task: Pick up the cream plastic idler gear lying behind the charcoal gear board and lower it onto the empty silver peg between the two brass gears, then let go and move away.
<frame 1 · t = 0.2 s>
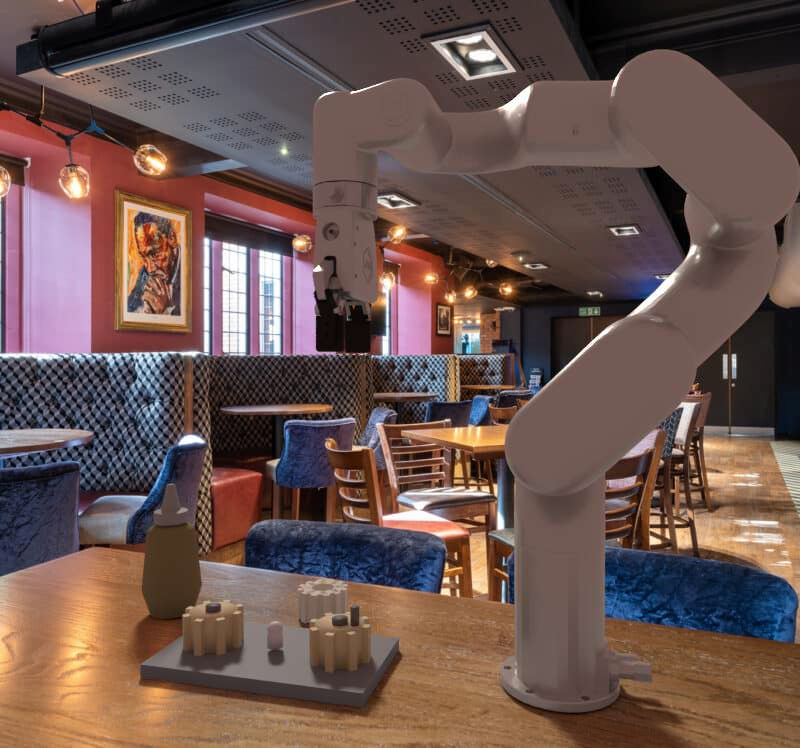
hand: (344, 352, 79), 36 cm above the table, tool pointing down, fingers open, 9 cm apart
gear board: (275, 663, 78), on the table
cream idler gear: (323, 616, 93), on the table
squeeze bottle: (172, 614, 94), on the table
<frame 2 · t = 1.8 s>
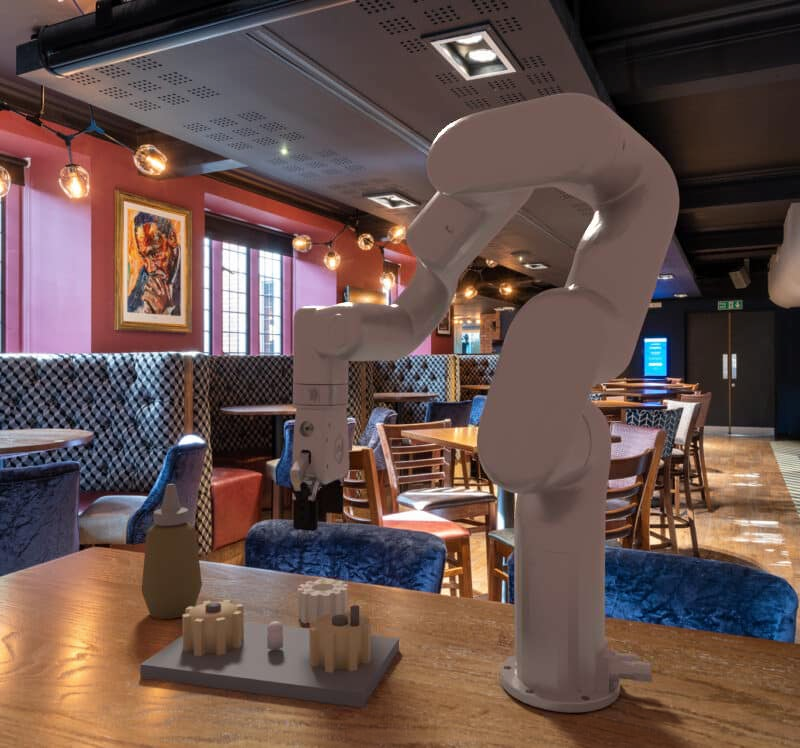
hand: (319, 520, 93), 13 cm above the table, tool pointing down, fingers open, 9 cm apart
nothing on the table moved.
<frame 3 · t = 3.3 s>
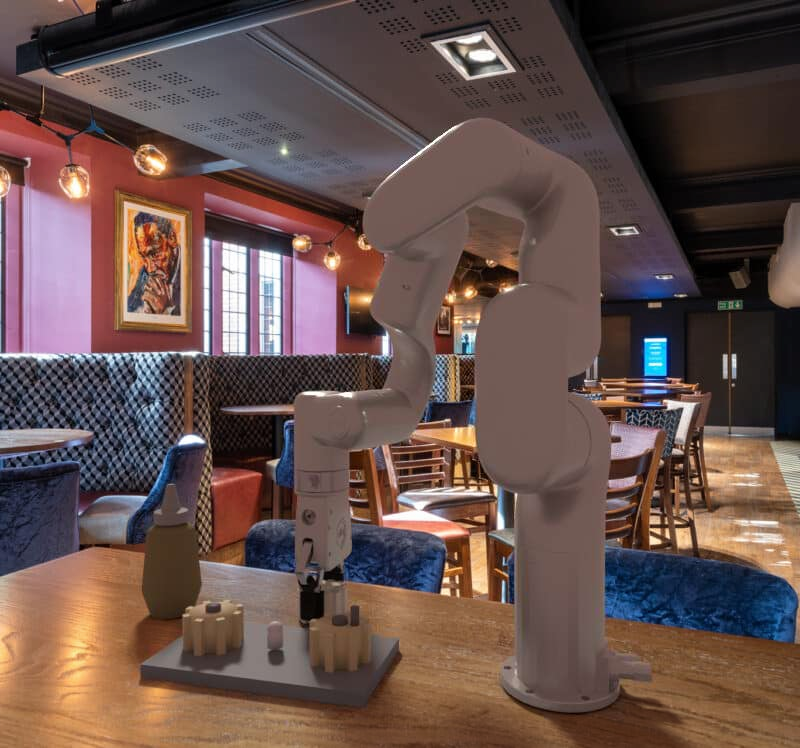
hand: (322, 609, 93), 1 cm above the table, tool pointing down, fingers closed on cream idler gear, 6 cm apart
cream idler gear: (323, 616, 93), on the table, touching gripper
everything else where it was.
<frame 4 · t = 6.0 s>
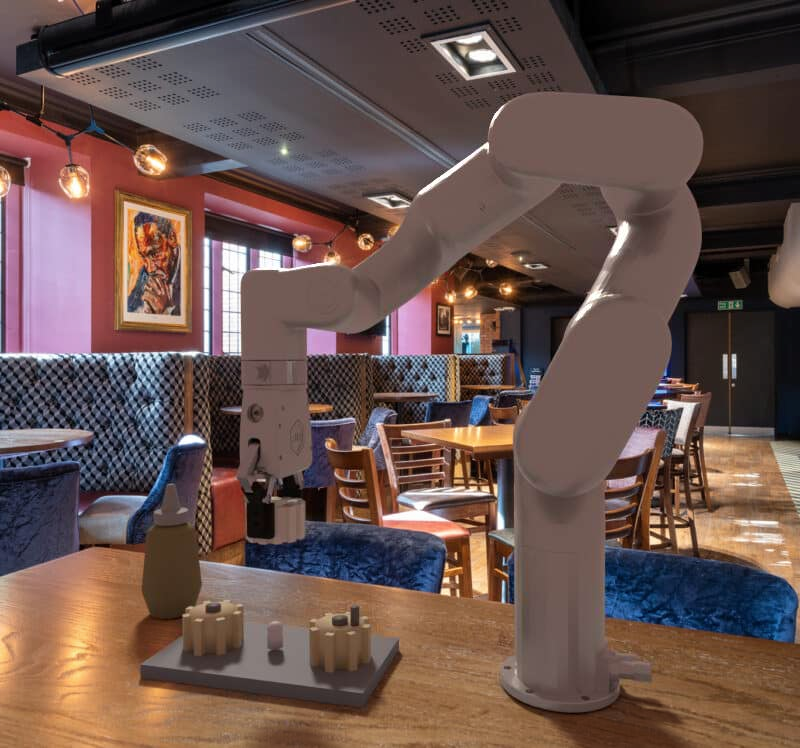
hand: (276, 528, 78), 16 cm above the table, tool pointing down, fingers closed on cream idler gear, 6 cm apart
cream idler gear: (275, 536, 78), point 15 cm above the table, touching gripper
everything else where it was.
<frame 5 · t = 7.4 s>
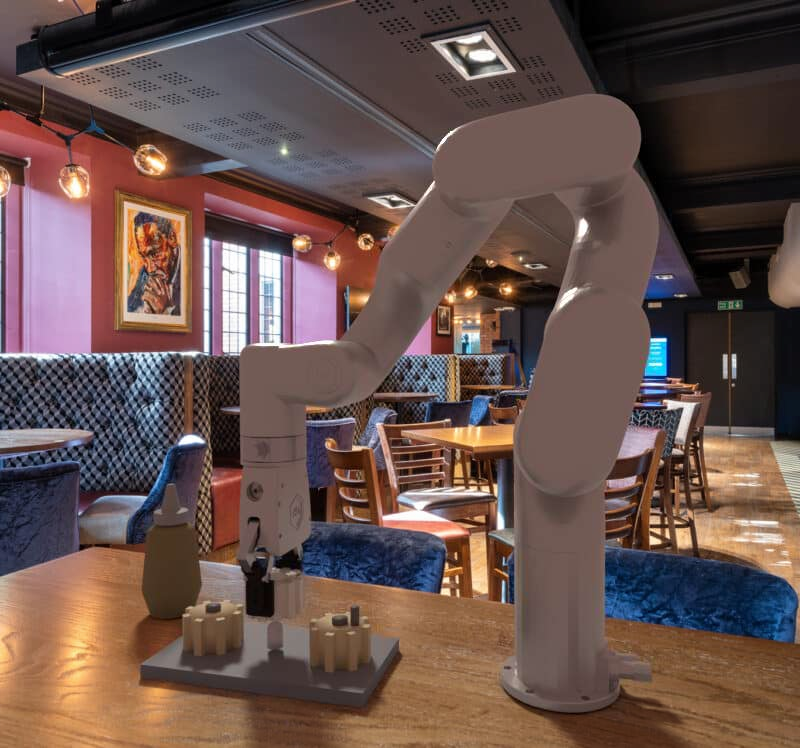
hand: (275, 602, 78), 7 cm above the table, tool pointing down, fingers closed on cream idler gear, 6 cm apart
cream idler gear: (274, 610, 78), point 6 cm above the table, touching gripper
everything else where it was.
when the fingers open (3 cm above the table, at t = 8.8 s): cream idler gear stays where it is, resting on gear board.
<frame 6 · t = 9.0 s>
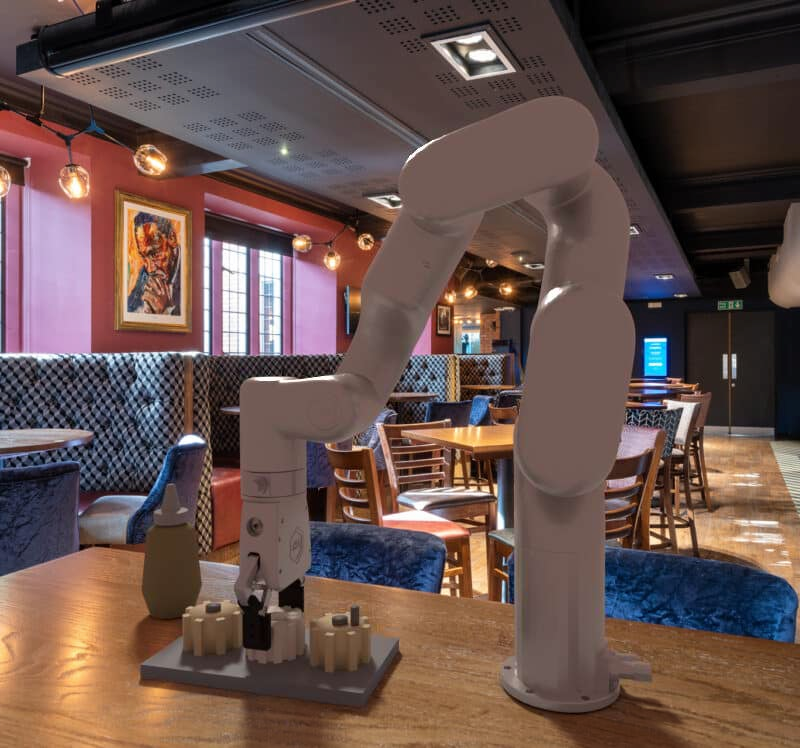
hand: (275, 632, 78), 4 cm above the table, tool pointing down, fingers open, 8 cm apart
cream idler gear: (275, 650, 78), point 1 cm above the table, touching gear board
everything else where it was.
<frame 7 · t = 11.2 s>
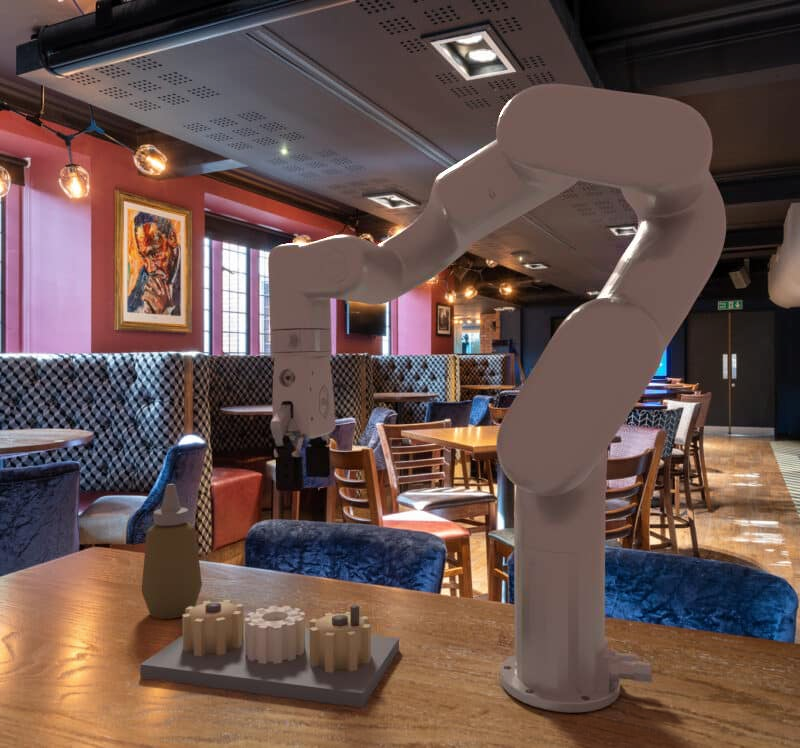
hand: (304, 483, 84), 20 cm above the table, tool pointing down, fingers open, 9 cm apart
nothing on the table moved.
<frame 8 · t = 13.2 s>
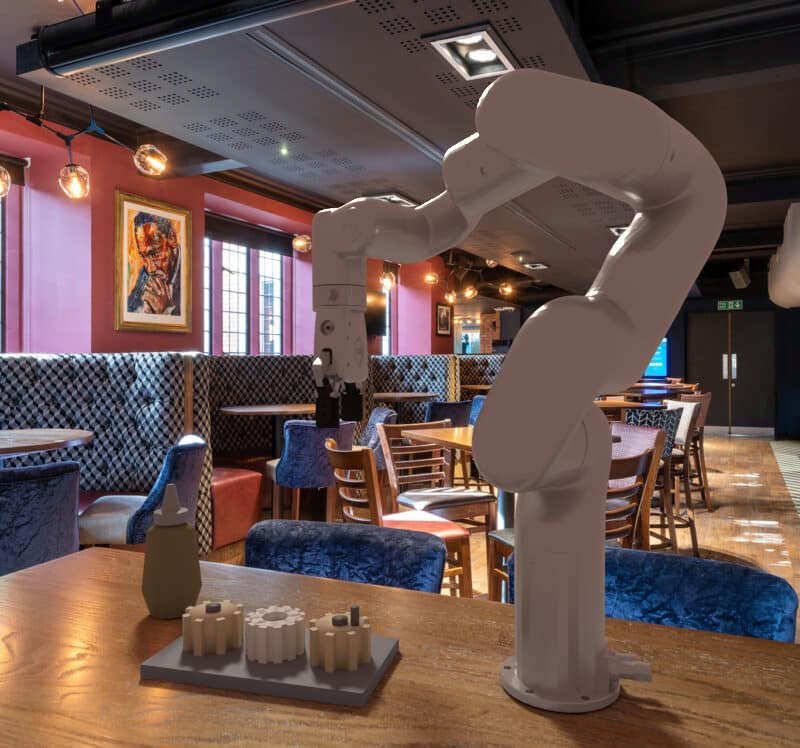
hand: (340, 424, 94), 26 cm above the table, tool pointing down, fingers open, 9 cm apart
nothing on the table moved.
at the end: cream idler gear 0.0 cm off-centre on the gear board, point 1.5 cm above the gear board's base; cream idler gear tilted 0°; the gripper is holding nothing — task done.
